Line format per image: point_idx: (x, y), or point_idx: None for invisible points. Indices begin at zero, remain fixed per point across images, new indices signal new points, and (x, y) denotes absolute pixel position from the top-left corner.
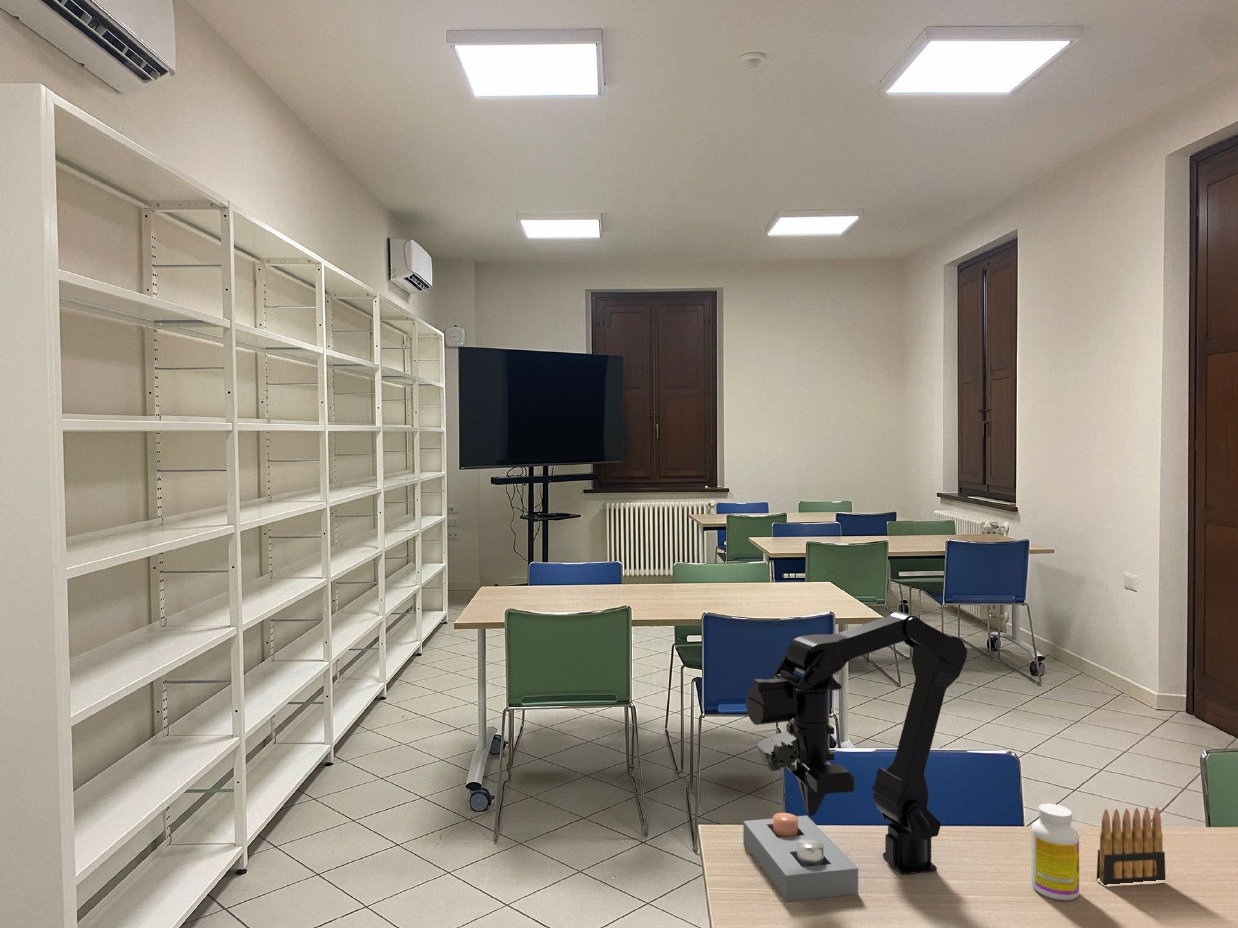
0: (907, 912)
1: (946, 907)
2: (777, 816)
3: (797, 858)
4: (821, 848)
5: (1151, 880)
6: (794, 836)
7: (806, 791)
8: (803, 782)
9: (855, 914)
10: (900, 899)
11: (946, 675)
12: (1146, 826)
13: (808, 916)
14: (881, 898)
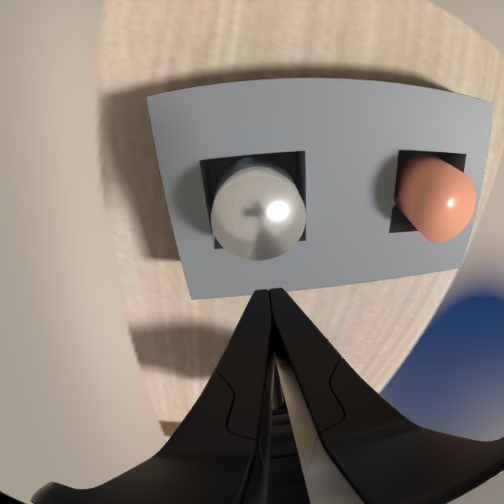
0: (140, 312)
1: (162, 358)
2: (463, 188)
3: (256, 162)
4: (232, 248)
5: None
6: (390, 201)
7: (211, 411)
8: (39, 490)
9: (120, 231)
10: (180, 318)
11: None
12: None
13: (105, 133)
14: (181, 293)
